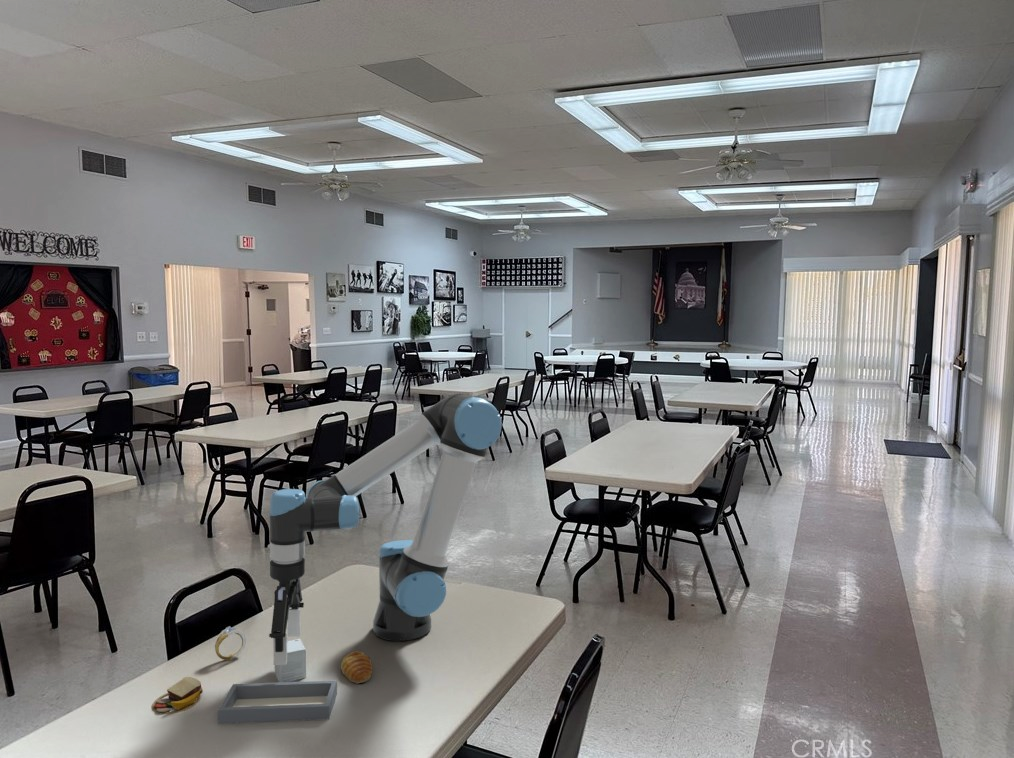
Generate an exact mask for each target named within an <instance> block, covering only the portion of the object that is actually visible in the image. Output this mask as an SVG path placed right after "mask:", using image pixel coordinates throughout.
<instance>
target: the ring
mask: <svg viewBox="0 0 1014 758" xmlns="http://www.w3.org/2000/svg"><path fill="white" fill-rule="evenodd" d="M236 628H237V626H234V627H231V626H230V625H229V626H227V627H225V629H223V630H221V631H220V633H219V634H218V635H217V637H216V639H215V642H214V651H215V653H216V655H217V657H218V658H220V659H221V660H225V661H226V660H227V661H228V660H229V661H231V660H233V659H235V658H237V657H239V656H240V655H241V654H242V653H243V651H244V650H245V647H246V643H247V640H246V637H245V635H244V633H243V632H242V631H240V630H239V629H236ZM233 634H236V635H238V636H239V637H240V638H241V645H240V648H239V649H238V650H237V652H235V653H234V654H228V655H223V654H222V653H220V651H219V650H220V649H219V648H220V645H221V643H222V642H223V641H224V640H225V639H226V638H228V637H229V636H230V635H233Z"/></svg>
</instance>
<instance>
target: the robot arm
mask: <svg viewBox="0 0 1014 758" xmlns="http://www.w3.org/2000/svg"><path fill="white" fill-rule="evenodd" d="M502 425H503V423H502V418H501V415H500V413H499V411H498V410H497V408H496V407H495V406H494V405H493V404H492V403H491V402H490V401H488V400H486V399H483V398H482V397H477V396H473V395H470V394H468V393H463V392H460V393H459V392H458V393H454V394H450V395H448V396H446V397H444V398H443V399H441V400H439V401H438V402H437V403H434V404H433V405H432V406H430V407H429V408H428V409H426V410H424V411H423V412H421V413H420V414H419V415H418V419H417V420H416V421H415V422H413V423H412V424H410V425H408V426H407V427H405V428H403V429H402V430H401V431H399V432H397V434H395V435H393V436H392V437H391V438H389V439H387V440H386V441H384V442H382V443H381V444H380V445H378V446H376V447H375V448H374V449H372V450H370V451H369V452H367V453H366V454H364V455H363V456H361V457H360V458H358V459H357V460H355V461H354V462H352V463H350V464H349V465H348V466H346V467H344V468H342V469H341V470H340V471H338V472H336V474H334V475H332V476H330V477H329V478H327V479H326V480H325V479H323V480H318V481H315V482H313V483H312V484H311V485H310V486H309V488H308V491H307V495H306V494H305V492H304V490H302V489H297V488H294V489H293V488H284V489H279V490H276V491H275V492H273V493H272V494H271V495H270V502H269V505H270V506H269V544H268V545H267V549H269V550H270V551H269V559H270V561H269V577H270V578H271V579H273V581H274V580H276V581H277V582H279V583H278V585H276V589H274V593H273V594H274V604H273V611H272V623H271V631H270V633H269V634H268V636H269V638H271V639H272V640H273V641H272V642H273V666H275V665H286V664H287V641H288V637H293V638H294V637H300V636H301V608H304V606H305V604H304V602H302V601H303V594H302V586H301V581H300V578H302V577H303V576H304V575H305V573H306V572H305V571H306V569H305V567H306V566H305V565H306V559H305V558H304V557H305V556H306V538H305V535H306V533H307V532H309V533H310V532H311V533H312V532H321V531H331V530H332V531H333V530H345V529H351V528H355V527H357V525H358V524H359V521H360V505H359V500H358V498H357V496H359V495H360V494H362V493H364V492H365V491H366V490H368V489H370V487H372V486H374V485H375V484H377V483H379V482H380V481H382V480H383V479H385V478H386V477H388V476H389V475H390V474H393V473H394V472H395V471H397V470H398V469H399V468H402V467H403V466H404V465H405V464H407V463H409V462H410V461H412V460H413V459H414V458H416V457H418V456H419V455H421V454H422V453H424V452H425V451H426V450H428V449H430V448H431V447H433V446H435V445H436V446H440V447H441V449H442V453H441V457H440V461H439V462H438V463H439V464H438V467H437V469H436V473H435V475H434V478H433V481H432V485H431V487H430V489H429V493H428V496H427V499H426V502H425V505H424V508H423V511H422V513H421V517H420V519H419V523H418V526H417V529H416V530H415V531H416V532H415V535H414V537H413V539H401V540H394V541H388V542H386V543H383V544H381V546H380V548H379V551H378V554H379V555H378V563H379V564H378V565H379V566H378V570H379V572H378V574H379V580H378V581H379V602H378V605H377V609H376V612H375V615H374V618H373V621H372V622H373V623H372V628H373V629H372V631H373V634H374V635H376V636H377V637H378V638H381V639H383V640H387V641H394V642H395V641H396V642H399V641H400V642H402V641H403V642H404V641H409V640H414V639H418V638H421V637H423V636H425V635H426V634H428V633H429V632H430V630H432V629H431V628H432V617H431V614H433V613H435V612H436V611H437V610H439V608H441V606H442V605H443V603H444V601H445V600H446V596H447V586H446V585H447V584H446V582H445V580H444V579H445V577H446V573H447V571H448V568H449V564H450V562H449V561H448V559H447V555H446V553H447V552H448V548H449V545H450V542H451V539H452V537H453V533H454V531H455V527H456V524H457V521H458V519H459V516H460V512H461V509H462V506H463V504H464V500H465V497H466V495H467V491H468V488H469V485H470V482H471V480H472V476H473V474H474V472H475V471H474V470H475V467H476V465H477V463H478V462H480V461H481V460H484V459H485V458H486V454H487V452H488V449H489V447H491V446H492V445H494V444H495V443H496V442H497V440H498V438H499V437H500V435H501V432H502Z"/></svg>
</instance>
